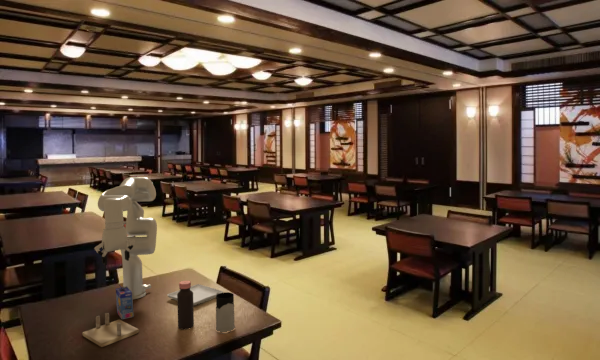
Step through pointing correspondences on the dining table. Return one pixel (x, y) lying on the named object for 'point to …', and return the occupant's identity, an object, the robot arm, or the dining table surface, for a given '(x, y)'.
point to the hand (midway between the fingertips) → (116, 262)
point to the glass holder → (224, 312)
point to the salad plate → (199, 293)
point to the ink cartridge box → (124, 302)
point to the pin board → (109, 331)
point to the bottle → (185, 306)
